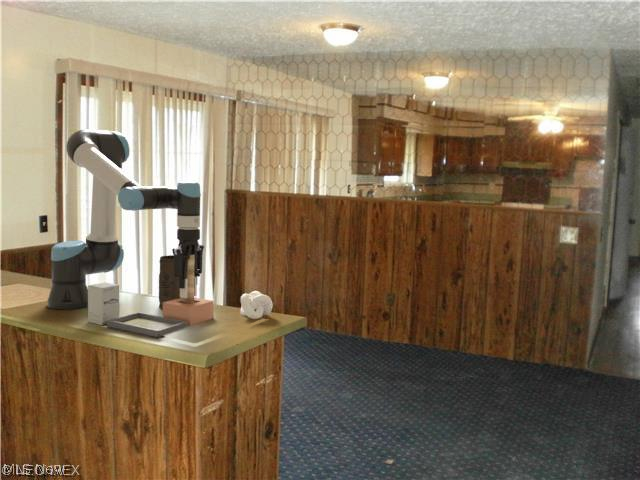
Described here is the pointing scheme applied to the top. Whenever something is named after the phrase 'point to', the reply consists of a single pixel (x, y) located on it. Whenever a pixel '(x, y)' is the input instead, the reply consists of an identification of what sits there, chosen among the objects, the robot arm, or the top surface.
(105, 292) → the supplement box
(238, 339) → the top surface
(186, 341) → the top surface
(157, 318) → the tray
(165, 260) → the beer stein
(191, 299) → the wooden peg
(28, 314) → the top surface
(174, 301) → the orange square hole block
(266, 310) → the white decorative knot
